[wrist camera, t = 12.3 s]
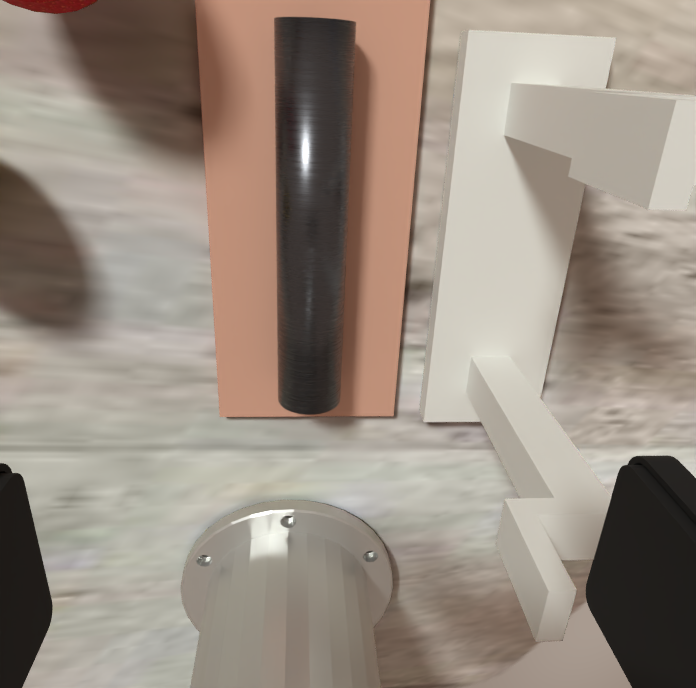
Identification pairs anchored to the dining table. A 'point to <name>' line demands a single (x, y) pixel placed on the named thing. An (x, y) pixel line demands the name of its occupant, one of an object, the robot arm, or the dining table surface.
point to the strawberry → (52, 5)
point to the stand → (535, 271)
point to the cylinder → (312, 205)
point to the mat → (260, 193)
